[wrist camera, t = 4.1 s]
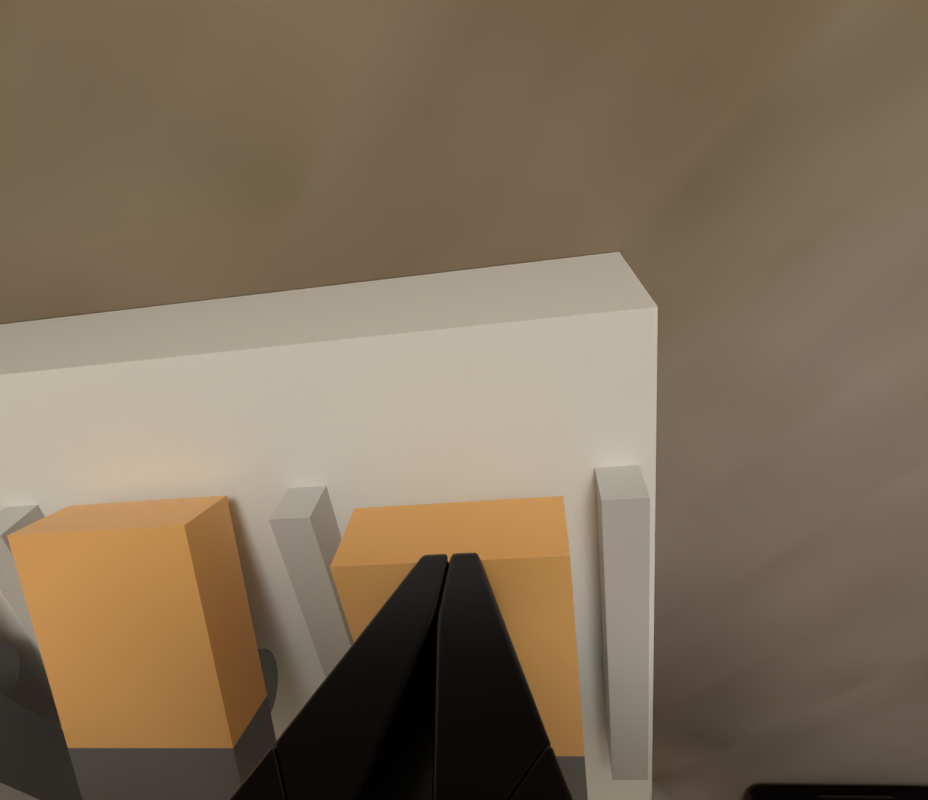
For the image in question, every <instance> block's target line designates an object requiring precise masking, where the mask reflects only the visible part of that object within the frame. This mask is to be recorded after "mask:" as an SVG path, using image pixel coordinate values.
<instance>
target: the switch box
mask: <svg viewBox="0 0 928 800" xmlns="http://www.w3.org/2000/svg"><path fill="white" fill-rule="evenodd" d="M657 318H658V307H657V305H656V304H655V302H654V301H653V300H652V298H651V297H650V295H649V294H648V292H647V291H646V290H645V288H644V287H643V285H642V284H641V283H640V281H639V280H638V278H637V277H636V275H635V274H634V273H633V271H632V270H631V268H630V267H629V265H628V264H627V263H626V261H625V260H624V258H623V257H622V256H621V254H620V253H619V252H614V253H606V254H597V255H589V256H580V257H572V258H563V259H555V260H546V261H538V262H529V263H521V264H512V265H504V266H495V267H487V268H478V269H470V270H461V271H453V272H444V273H436V274H427V275H419V276H410V277H401V278H393V279H384V280H376V281H367V282H359V283H350V284H342V285H333V286H325V287H316V288H308V289H299V290H291V291H282V292H274V293H265V294H257V295H248V296H240V297H231V298H223V299H214V300H206V301H197V302H189V303H180V304H172V305H163V306H155V307H146V308H137V309H129V310H120V311H112V312H103V313H95V314H86V315H78V316H69V317H61V318H52V319H44V320H35V321H27V322H18V323H10V324H1V325H0V641H1V642H6V643H8V644H10V645H11V646H12V647H14V649H15V650H16V652H17V654H18V656H19V661H20V671H19V677H18V680H17V683H16V686H15V688H14V690H13V692H12V693H11V695H10V696H9V699H11V700H12V701H14V702H16V703H18V704H19V705H21V706H23V707H24V708H26V709H28V710H29V711H31V712H33V713H34V714H36V715H38V716H40V717H41V718H43V719H45V720H46V721H48V722H50V723H51V724H53V725H55V726H57V727H58V728H60V729H62V726H61V723H60V719H59V716H58V712H57V709H56V705H55V702H54V698H53V695H52V691H51V688H50V684H49V681H48V677H47V674H46V670H45V667H44V663H43V660H42V656H41V653H40V649H39V646H38V642H37V639H36V635H35V632H34V628H33V625H32V621H31V618H30V614H29V611H28V607H27V604H26V600H25V597H24V593H23V590H22V586H21V583H20V579H19V576H18V572H17V569H16V565H15V562H14V558H13V555H12V551H11V548H10V544H9V541H8V537H7V535H9V534H11V533H14V532H16V531H18V530H20V529H22V528H24V527H26V526H28V525H30V524H32V523H34V522H36V521H38V520H40V519H42V518H44V517H46V516H48V515H51V514H53V513H55V512H57V511H59V510H61V509H63V508H65V507H67V506H73V505H89V504H104V503H119V502H134V501H150V500H165V499H180V498H196V497H211V496H226V495H227V500H228V505H229V510H230V515H231V520H232V525H233V530H234V535H235V539H236V544H237V549H238V554H239V559H240V564H241V569H242V574H243V579H244V584H245V589H246V594H247V599H248V604H249V609H250V614H251V618H252V623H253V628H254V633H255V638H256V643H257V648H258V649H268V650H270V651H271V652H272V654H273V655H274V657H275V660H276V664H277V671H278V685H277V693H276V699H275V703H274V706H273V709H272V712H271V717H272V722H273V727H274V732H275V737H276V741H277V739H278V738H279V737H280V736H281V734H282V733H283V732H284V730H285V729H286V728H287V727H288V725H289V724H290V723H291V722H292V720H293V719H294V718H295V717H296V715H297V714H298V713H299V711H300V710H301V709H302V708H303V706H304V705H305V704H306V703H307V701H308V700H309V699H310V698H311V696H312V695H313V694H314V692H315V691H316V690H317V689H318V687H319V686H320V685H321V684H322V682H323V681H324V680H325V679H326V677H327V676H328V675H329V673H330V672H331V671H332V670H333V668H334V667H335V666H336V665H337V663H338V662H339V661H340V660H341V658H342V657H343V656H344V654H345V653H346V652H347V651H348V649H349V648H350V647H351V646H352V644H353V643H354V642H353V639H352V636H351V632H350V629H349V626H348V623H347V620H346V617H345V613H344V610H343V607H342V604H341V601H340V597H339V594H338V591H337V588H336V585H335V581H334V578H333V575H332V572H331V569H330V566H331V563H332V561H333V558H334V556H335V554H336V551H337V549H338V547H339V544H340V542H341V539H342V537H343V535H344V532H345V530H346V527H347V525H348V523H349V520H350V518H351V516H352V513H353V511H354V508H370V507H387V506H403V505H420V504H437V503H453V502H470V501H487V500H503V499H520V498H537V497H553V496H563V498H564V507H565V516H566V525H567V534H568V542H569V551H570V562H571V576H572V590H573V603H574V617H575V631H576V645H577V658H578V672H579V686H580V699H581V713H582V727H583V741H584V754H585V768H586V782H587V795H588V800H652V736H653V652H654V568H655V485H656V401H657Z"/></svg>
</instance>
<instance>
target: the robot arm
mask: <svg viewBox="0 0 928 800" xmlns="http://www.w3.org/2000/svg"><path fill="white" fill-rule="evenodd" d="M275 747H276V749H275V748H274V747H272V748H270V749H269V750H268V752H267V753H266V754H265V755H264V757H263V758H262V759H261V760H260V762H259V763H258V764H257V766H256V767H255V768H254V769H253V771H252V772H251V773H250V774H249V776H248V777H247V778H246V779H245V780H244V782H243V783H242V784H241V785H240V786H239V788H238V789H237V790H236V791H235V793H234V794H233V795H232V796H231V797H230V799H229V800H573V798H572V796H571V793H570V791H569V788H568V786H567V784H566V781H565V779H564V776H563V774H562V771H561V768H560V766H559V763H558V760H557V758H556V755H555V752H554V750H553V748H552V747H551V744H550V740H549V738H548V735H547V732H546V730H545V727H544V724H543V722H542V719H541V717H540V714H539V711H538V709H537V706H536V703H535V701H534V698H533V695H532V693H531V690H530V688H529V685H528V682H527V680H526V677H525V674H524V672H523V669H522V667H521V664H520V661H519V659H518V656H517V653H516V651H515V648H514V646H513V643H512V640H511V638H510V635H509V632H508V630H507V627H506V624H505V622H504V619H503V617H502V614H501V611H500V609H499V606H498V603H497V601H496V598H495V596H494V593H493V590H492V588H491V585H490V582H489V580H488V577H487V575H486V572H485V569H484V567H483V564H482V561H481V560H480V558H479V556H478V554H477V553H455V554H453V555H452V556H451V558H450V561H449V563H448V557H447V555H446V554H432V555H424V556H422V557H421V558H420V559H419V561H418V562H417V563H416V565H415V566H414V567H413V568H412V570H411V571H410V572H409V573H408V575H407V576H406V577H405V578H404V580H403V581H402V582H401V584H400V585H399V586H398V587H397V589H396V590H395V591H394V592H393V594H392V595H391V596H390V597H389V599H388V600H387V601H386V603H385V604H384V605H383V606H382V608H381V609H380V610H379V611H378V613H377V614H376V615H375V616H374V618H373V619H372V620H371V622H370V623H369V624H368V625H367V627H366V628H365V629H364V630H363V632H362V633H361V634H360V635H359V637H358V638H357V639H356V641H355V642H354V643H353V644H352V646H351V647H350V648H349V649H348V651H347V652H346V653H345V654H344V656H343V657H342V658H341V660H340V661H339V662H338V663H337V665H336V666H335V667H334V668H333V670H332V671H331V672H330V673H329V675H328V676H327V677H326V679H325V680H324V681H323V682H322V684H321V685H320V686H319V687H318V689H317V690H316V691H315V692H314V694H313V695H312V696H311V698H310V699H309V700H308V701H307V703H306V704H305V705H304V706H303V708H302V709H301V710H300V711H299V713H298V714H297V715H296V717H295V718H294V719H293V720H292V722H291V723H290V724H289V725H288V727H287V728H286V729H285V730H284V732H283V733H282V734H281V736H280V737H279V738H278V739H277V741H276V742H275ZM749 800H928V789H920V788H818V787H760V788H756V789H754V790H753V791H751V792H750V794H749Z"/></svg>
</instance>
